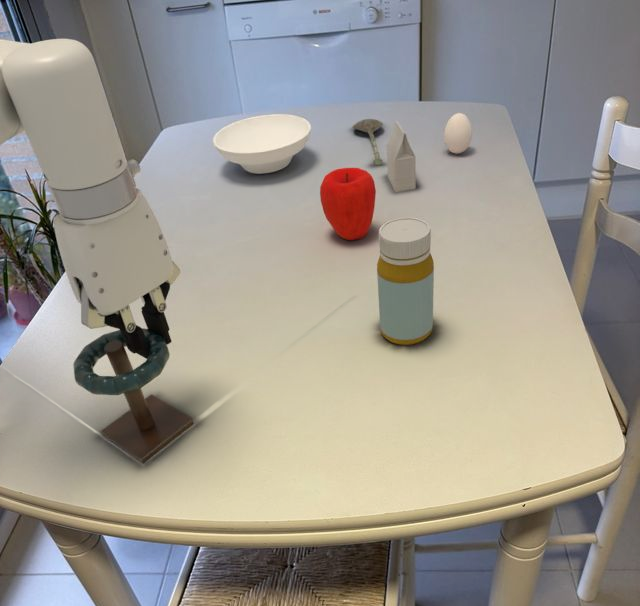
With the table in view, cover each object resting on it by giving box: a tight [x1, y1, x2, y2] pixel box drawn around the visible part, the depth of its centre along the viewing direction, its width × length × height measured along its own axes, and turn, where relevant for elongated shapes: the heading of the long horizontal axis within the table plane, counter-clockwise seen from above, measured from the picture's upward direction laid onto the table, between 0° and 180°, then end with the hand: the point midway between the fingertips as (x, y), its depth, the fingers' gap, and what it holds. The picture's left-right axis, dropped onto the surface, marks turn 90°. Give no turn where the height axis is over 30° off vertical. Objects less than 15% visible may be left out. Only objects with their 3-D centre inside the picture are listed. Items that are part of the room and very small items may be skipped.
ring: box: [73, 327, 171, 396], centre depth 71 cm, size 10×10×2 cm
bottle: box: [376, 216, 435, 346], centre depth 82 cm, size 7×7×15 cm
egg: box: [443, 112, 473, 155], centre depth 124 cm, size 5×5×7 cm
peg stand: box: [100, 341, 195, 464], centre depth 74 cm, size 8×8×13 cm
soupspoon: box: [352, 118, 384, 166], centre depth 133 cm, size 22×3×7 cm
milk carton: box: [386, 120, 417, 193], centre depth 116 cm, size 4×7×10 cm, turn 8°
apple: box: [319, 167, 377, 241], centre depth 104 cm, size 9×9×11 cm
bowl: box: [212, 113, 312, 174], centre depth 130 cm, size 20×20×7 cm
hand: (151, 345), depth 74 cm, fingers closed on ring, 2 cm apart
